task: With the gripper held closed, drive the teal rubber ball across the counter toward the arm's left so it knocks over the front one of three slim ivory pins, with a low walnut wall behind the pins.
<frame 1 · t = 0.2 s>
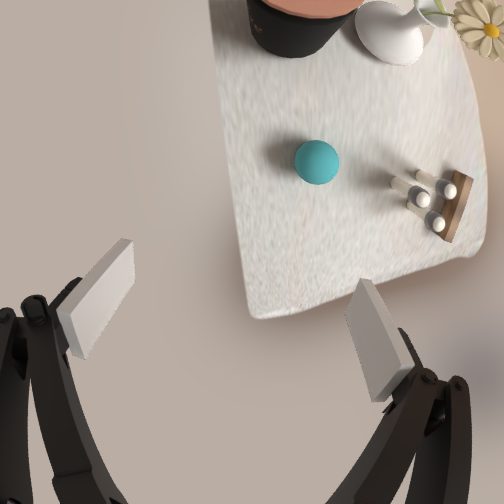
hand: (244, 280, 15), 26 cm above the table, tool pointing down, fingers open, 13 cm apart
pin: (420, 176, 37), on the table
coffee jar: (288, 28, 28), on the table
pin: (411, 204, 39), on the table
back wall: (449, 203, 38), on the table
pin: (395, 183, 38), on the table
flower in vase: (389, 38, 27), on the table
ball: (316, 162, 34), on the table
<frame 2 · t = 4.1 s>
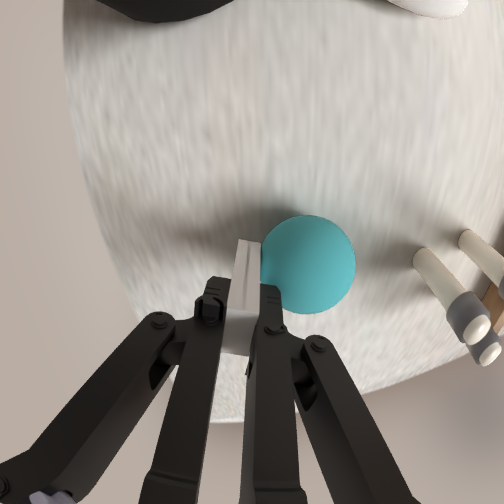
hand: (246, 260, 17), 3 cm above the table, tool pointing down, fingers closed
back wall: (500, 274, 19), on the table
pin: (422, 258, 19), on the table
ball: (306, 264, 16), on the table, touching gripper
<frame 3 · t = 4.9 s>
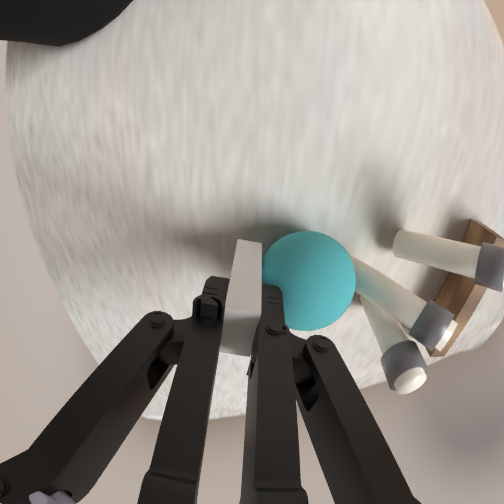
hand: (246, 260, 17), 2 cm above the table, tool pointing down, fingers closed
back wall: (452, 282, 20), on the table
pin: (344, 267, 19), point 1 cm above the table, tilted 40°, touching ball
ball: (306, 281, 16), on the table, touching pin, gripper
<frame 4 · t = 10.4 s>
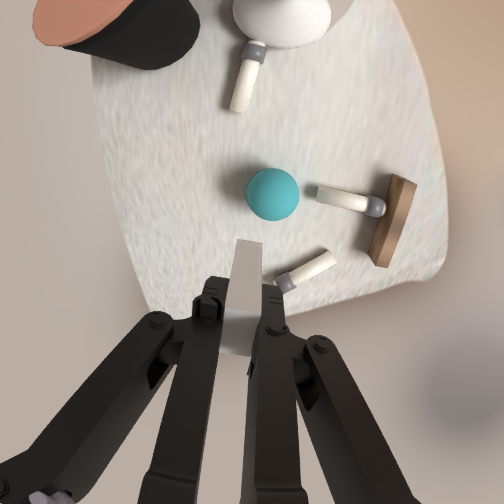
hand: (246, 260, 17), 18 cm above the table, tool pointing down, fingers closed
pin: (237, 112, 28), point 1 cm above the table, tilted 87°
coffee jar: (161, 35, 24), on the table
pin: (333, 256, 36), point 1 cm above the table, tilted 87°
back wall: (386, 216, 34), on the table
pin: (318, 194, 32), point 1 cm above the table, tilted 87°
flower in vase: (286, 17, 23), on the table
ball: (272, 194, 31), on the table
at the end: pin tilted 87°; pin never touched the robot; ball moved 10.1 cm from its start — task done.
